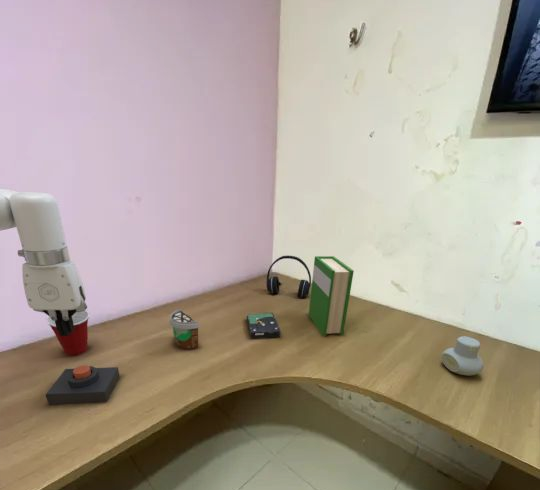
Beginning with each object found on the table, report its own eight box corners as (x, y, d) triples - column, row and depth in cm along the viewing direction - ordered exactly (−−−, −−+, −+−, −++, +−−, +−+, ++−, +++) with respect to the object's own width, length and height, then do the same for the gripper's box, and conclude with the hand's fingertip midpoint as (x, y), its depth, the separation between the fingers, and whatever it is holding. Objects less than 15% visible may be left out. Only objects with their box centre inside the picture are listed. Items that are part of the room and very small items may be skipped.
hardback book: (343, 335, 110) (353, 270, 100) (323, 336, 109) (332, 270, 99) (326, 314, 126) (333, 256, 116) (308, 314, 124) (314, 256, 114)
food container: (165, 339, 102) (162, 312, 98) (182, 334, 106) (180, 307, 102) (182, 356, 94) (179, 327, 90) (200, 349, 98) (198, 321, 93)
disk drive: (280, 338, 107) (272, 318, 120) (281, 330, 106) (272, 311, 119) (250, 339, 105) (246, 319, 118) (251, 332, 104) (246, 313, 117)
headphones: (264, 294, 142) (266, 255, 134) (268, 289, 148) (270, 252, 140) (308, 300, 138) (312, 260, 130) (310, 295, 144) (314, 256, 136)
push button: (71, 380, 75) (70, 374, 74) (78, 371, 78) (76, 365, 77) (87, 379, 75) (86, 373, 74) (93, 370, 78) (92, 364, 78)
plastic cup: (68, 365, 87) (58, 327, 82) (48, 353, 92) (37, 317, 87) (104, 348, 96) (97, 313, 91) (84, 338, 101) (76, 304, 96)
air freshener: (484, 379, 90) (497, 349, 86) (460, 381, 88) (471, 352, 84) (457, 358, 99) (466, 331, 95) (434, 360, 98) (443, 332, 94)
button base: (48, 404, 73) (43, 388, 71) (68, 378, 82) (63, 363, 80) (107, 402, 75) (103, 385, 73) (119, 376, 84) (116, 361, 82)
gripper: (-5, 260, 60) (22, 342, 68) (78, 262, 62) (95, 341, 70) (19, 250, 67) (40, 326, 74) (93, 252, 69) (106, 325, 76)
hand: (67, 333), depth 72 cm, fingers closed
